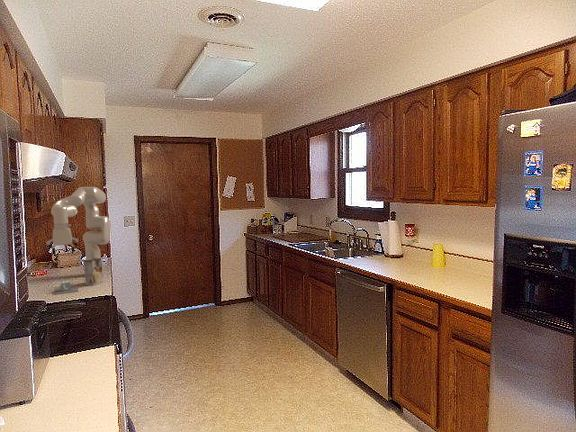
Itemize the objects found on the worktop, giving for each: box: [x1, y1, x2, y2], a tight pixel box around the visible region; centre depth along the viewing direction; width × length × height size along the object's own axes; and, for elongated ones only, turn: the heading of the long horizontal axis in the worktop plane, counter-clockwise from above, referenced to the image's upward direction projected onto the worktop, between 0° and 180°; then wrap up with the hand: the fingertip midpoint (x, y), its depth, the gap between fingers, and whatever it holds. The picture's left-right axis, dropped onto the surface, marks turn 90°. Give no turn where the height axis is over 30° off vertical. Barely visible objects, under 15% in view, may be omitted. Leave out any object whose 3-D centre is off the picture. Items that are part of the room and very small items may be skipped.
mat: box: [52, 285, 79, 296], centre depth 239 cm, size 13×13×1 cm
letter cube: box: [60, 280, 72, 292], centre depth 239 cm, size 5×5×5 cm
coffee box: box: [83, 258, 104, 286], centre depth 255 cm, size 9×6×16 cm
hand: (63, 254), depth 238 cm, fingers open, 9 cm apart
